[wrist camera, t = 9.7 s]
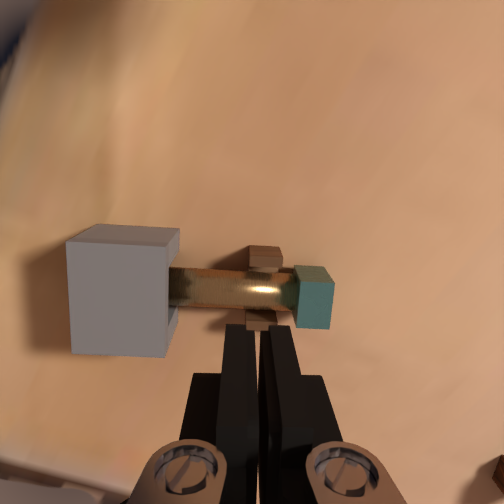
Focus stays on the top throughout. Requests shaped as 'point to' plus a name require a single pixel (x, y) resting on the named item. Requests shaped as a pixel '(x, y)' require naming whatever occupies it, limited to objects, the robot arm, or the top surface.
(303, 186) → the top surface
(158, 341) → the socket block
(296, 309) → the bronze piece
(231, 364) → the robot arm
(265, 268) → the guide block
